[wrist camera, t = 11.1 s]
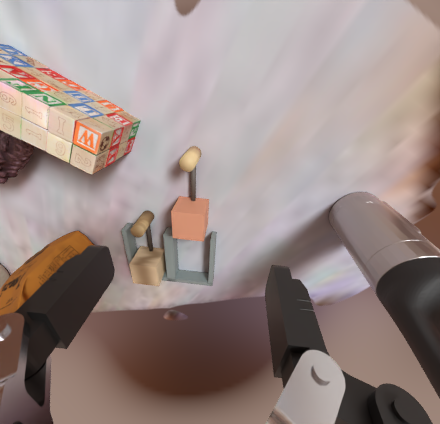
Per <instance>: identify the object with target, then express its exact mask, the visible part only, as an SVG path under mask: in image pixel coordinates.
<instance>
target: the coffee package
mask: <svg viewBox="0 0 440 424" xmlns="http://www.w3.org/2000/svg"><path fill="white" fill-rule="evenodd" d="M90 245H94V244H92V243H91V242H90V241H89V239H88V238H87V237H86V236H85V235H84V234H82V233H80V232H79V231H74V232H71V233H69V234H67V235H64V236H62V237H60V238H59V239H57V240H55V241H53V242H52V243H50V244H48V245H47V246H45V247H44V248H43V249H42V250H41V251H39V252H38V253H36V254H35V255H34V256H32V257H31V258H30V259H28V260H27V261H26V262H25V263H24V264H23V265H22V266H21V267H20V268H18V269H17V270H16V271H15V272H14V273H13V274H12V275H11V276H10V277H9V278H8V280H7V281H6V282H5V283H4V285H3V286H2V287H1V289H0V316H1V315H4V314H7V313H14V312H15V311H16V310H18V309H19V308H20V307H21V306H22V305H23V304H24V303H25V302H26V301H27V300H28V299H29V298H30V297H31V296H32V295H33V294H34V293H35V292H36V291H37V290H38V289H39V288H40V287H41V286H42V285H43V284H44V283H45V282H46V281H47V280H49V278H50V277H51V276H52V275H53V274H54V273H55V272H56V271H57V270H58V269H59V268H60V267H61V266H62V265H63V264H64V263H65V262H66V261H67V260H69V259H71V258H72V257H74V256H75V255H77V254H78V255H80V254H81V253H82V252H83V251H84V250H85V249H86V248H87V247H88V246H90Z"/></svg>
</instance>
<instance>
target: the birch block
mask: <svg viewBox="0 0 440 424" xmlns="http://www.w3.org/2000/svg"><path fill="white" fill-rule="evenodd" d="M153 219H154V214H153V213H152V212H150V211H144V212H143V214H142V215H141V216H140V218H139V219H138V220H137V222H136V223H135V224H134V225H133V227H132V228H131V230H130V231H131V234H132V235H133V236H135V237H142V236H143V234H144V233H145V231H146V232H147V239H148V245H149V247H144V246H140V248H139V249H138V251H137V252H136V254H135V256H134V257H133V259H132V261H131V262H130V264H129V266H130V270H131V275H132V279H133V283H136V284H145V285H154V286H159V285H160V282H161V280H162V277H163V275H164V273H165V270H166V260H165V249H163V248H153V244H152V237H151V229H150V224H151V222H152V220H153Z"/></svg>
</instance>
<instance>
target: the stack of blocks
mask: <svg viewBox="0 0 440 424" xmlns="http://www.w3.org/2000/svg"><path fill="white" fill-rule="evenodd" d="M139 124H140V120H139V119H137V118H136V117H134V116H132V115H130V114H129V113H127V112H125V111H124V110H123V109H121V108H119V107H118V106H116V105H114V104H112V103H111V102H109V101H107V100H105V99H104V98H102V97H100V96H98V95H97V94H95V93H93V92H91V91H90V90H86V89H85V88H83V87H81V86H79V85H78V84H76V83H74V82H72V81H71V80H68V79H66V78H65V77H63V76H61V75H59V74H58V73H56V72H54V71H52V70H50V69H49V68H48V67H47V66H45V65H43V64H41V63H40V62H38V61H36V60H34V59H33V58H31V57H29V56H27V55H25V54H23V53H22V52H20V51H18V50H16V49H15V48H13V47H11V46H9V45H3V44H0V130H1V131H3V132H5V133H8V134H10V135H12V136H14V137H16V138H18V139H20V140H23V141H25V142H27V143H29V144H31V145H33V146H36V147H37V148H39V149H42V150H44V151H46V152H47V153H49V154H51V155H53V156H55V157H57V158H59V159H61V160H63V161H66V162H68V163H70V164H71V165H73V166H75V167H77V168H79V169H81V170H83V171H85V172H87V173H89V174H94V173H96V172H97V171H99V170H100V169H102V168H103V167H107V166H109V165H110V164H112V163H113V162H115V161H116V160H117V159H119V158H120V157H122V156H124V155H126V154H127V153H129V152H130V151H131V149H132V146H133V143H134V140H135V136H136V133H137V130H138V127H139Z"/></svg>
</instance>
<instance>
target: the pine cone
mask: <svg viewBox="0 0 440 424" xmlns="http://www.w3.org/2000/svg"><path fill="white" fill-rule="evenodd" d="M33 149H34V146H33V145H31V144H29V143H27V142H25V141H23V140H20V139H18V138H16V137H14V136H12V135H10V134H8V133H5V132H3V131H1V130H0V183H3V184H4V183H5V182H7V180H8V178H10V177H16V176H17V172H18V170H20V169H22V168H24V167H25V164H26V163H28V162H29V160H30V156H31V155H32V153H33Z"/></svg>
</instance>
